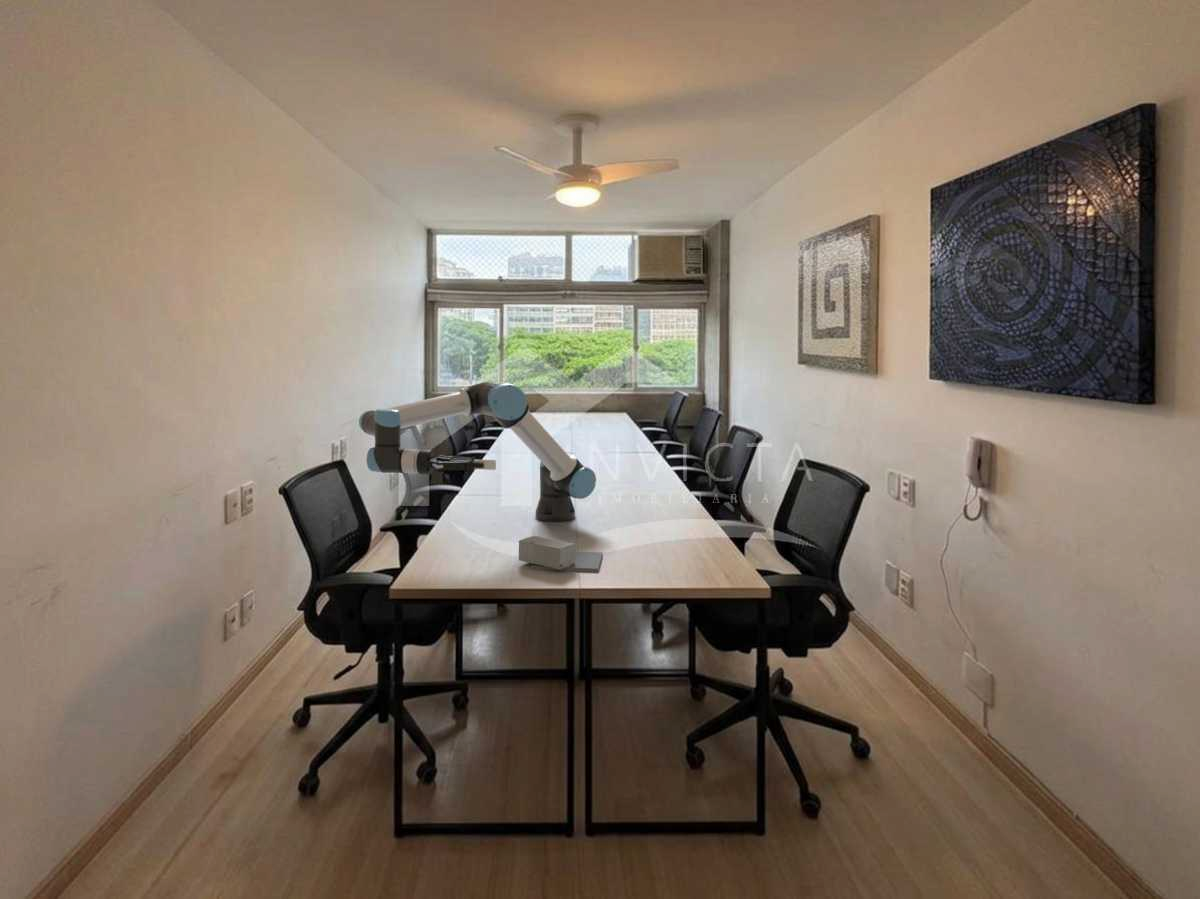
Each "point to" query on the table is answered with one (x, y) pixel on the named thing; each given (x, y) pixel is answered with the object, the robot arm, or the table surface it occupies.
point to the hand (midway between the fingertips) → (495, 465)
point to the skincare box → (547, 552)
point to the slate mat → (579, 563)
